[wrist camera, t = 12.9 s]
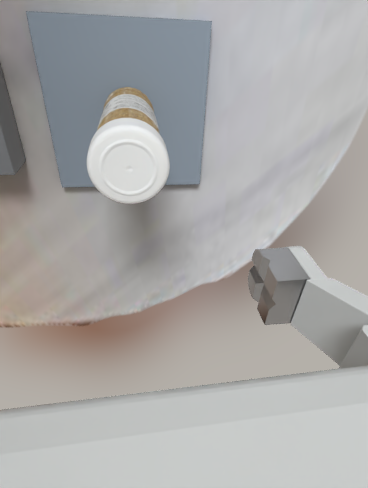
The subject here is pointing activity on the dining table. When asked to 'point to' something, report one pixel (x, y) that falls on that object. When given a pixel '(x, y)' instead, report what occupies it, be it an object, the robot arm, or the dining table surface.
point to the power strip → (8, 135)
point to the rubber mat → (122, 82)
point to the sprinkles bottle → (128, 149)
